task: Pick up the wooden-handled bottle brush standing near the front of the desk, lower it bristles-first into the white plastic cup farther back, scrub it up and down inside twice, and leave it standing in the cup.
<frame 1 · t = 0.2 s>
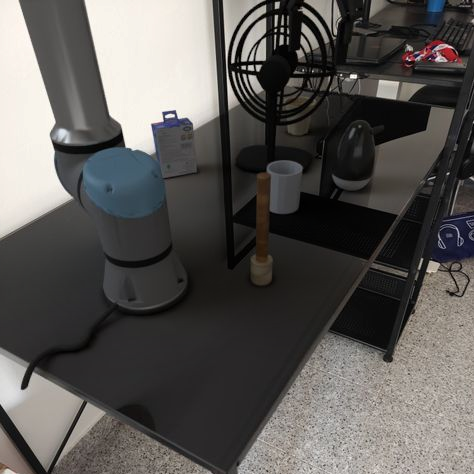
hand: (315, 57, 86), 28 cm above the table, tool pointing down, fingers open, 13 cm apart
brush: (261, 279, 82), on the table
flower pot: (297, 132, 134), on the table
white plastic cup: (282, 205, 101), on the table
pump dispenser: (349, 186, 108), on the table
desk fan: (274, 161, 119), on the table
ink cartridge box: (177, 172, 115), on the table
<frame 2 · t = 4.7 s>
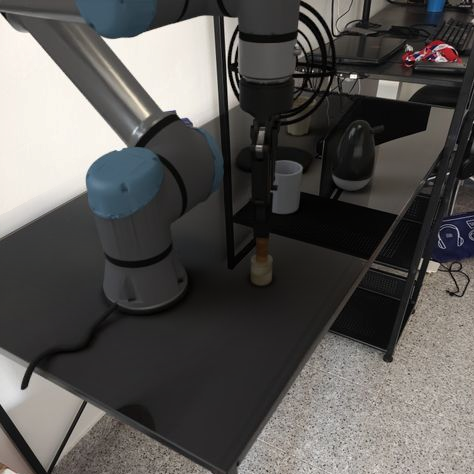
hand: (262, 232, 74), 10 cm above the table, tool pointing down, fingers closed on brush, 2 cm apart
brush: (261, 279, 82), on the table, touching gripper
everything else where it was.
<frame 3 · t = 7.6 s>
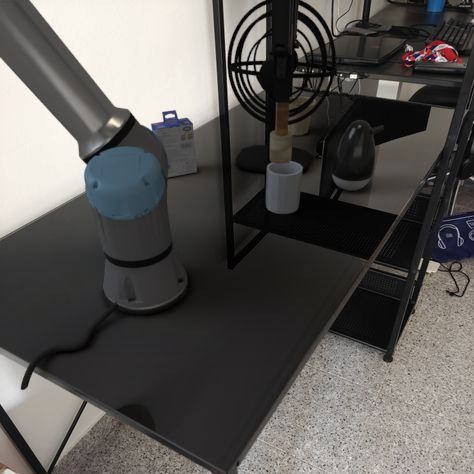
hand: (282, 98, 72), 27 cm above the table, tool pointing down, fingers closed on brush, 2 cm apart
brush: (280, 159, 79), point 17 cm above the table, touching gripper
everything else where it was.
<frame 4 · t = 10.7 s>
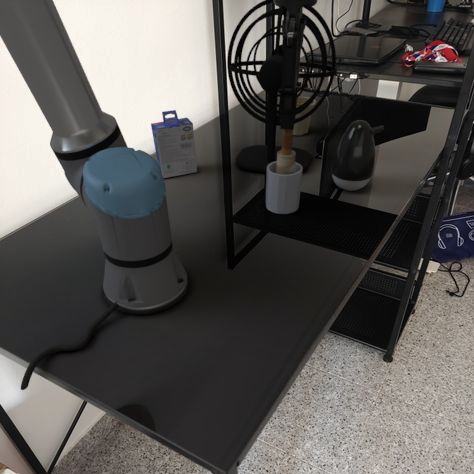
hand: (287, 125, 88), 18 cm above the table, tool pointing down, fingers closed on brush, 2 cm apart
brush: (285, 173, 96), point 8 cm above the table, touching gripper
everything else where it was.
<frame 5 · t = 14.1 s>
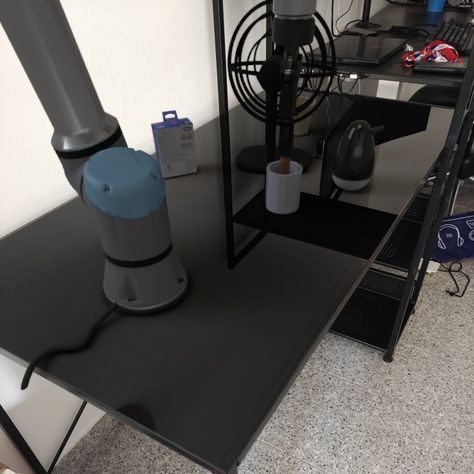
hand: (285, 152, 92), 12 cm above the table, tool pointing down, fingers closed on brush, 2 cm apart
brush: (282, 197, 100), point 2 cm above the table, touching gripper
everything else where it was.
when the fingers open (11 cm above the table, at t = 16.6 s): brush stays where it is, resting on white plastic cup.
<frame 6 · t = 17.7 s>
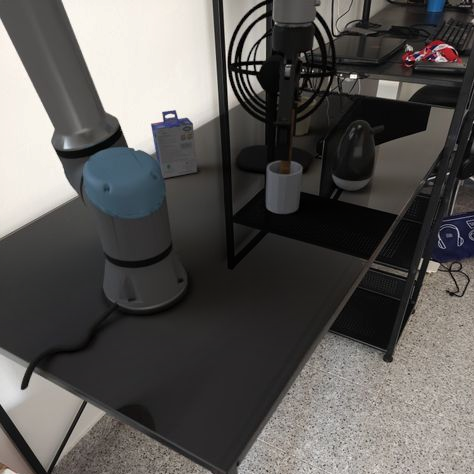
hand: (285, 147, 91), 13 cm above the table, tool pointing down, fingers open, 13 cm apart
brush: (283, 203, 101), point 1 cm above the table, touching white plastic cup
everything else where it was.
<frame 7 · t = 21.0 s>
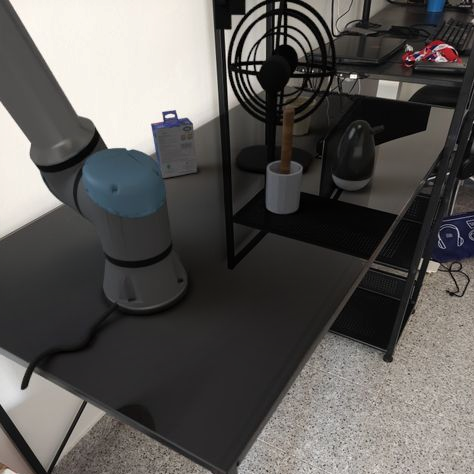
hand: (231, 21, 78), 35 cm above the table, tool pointing down, fingers open, 13 cm apart
nothing on the table moved.
at the end: brush 0.1 cm off-centre in the white plastic cup, point 0.6 cm above the white plastic cup's base; the gripper is holding nothing; brush tilted 0° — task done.
